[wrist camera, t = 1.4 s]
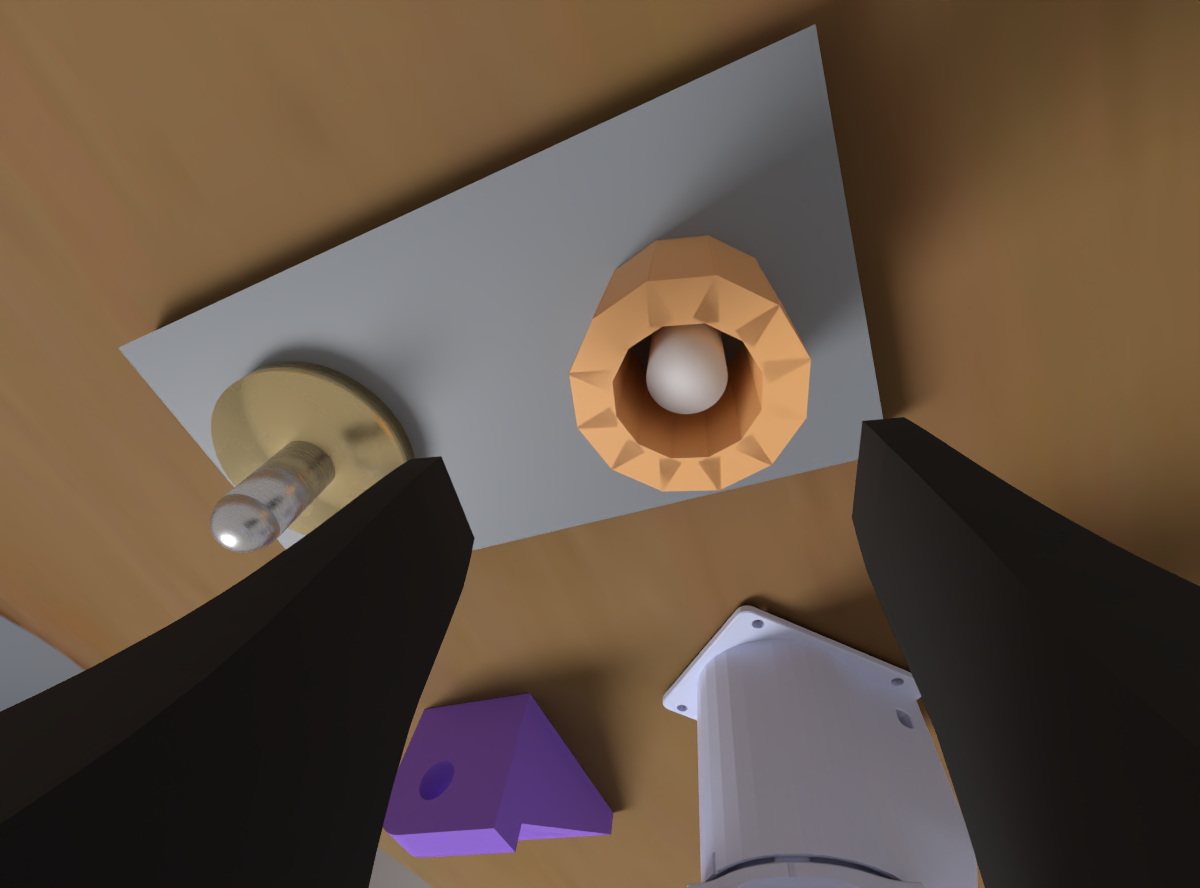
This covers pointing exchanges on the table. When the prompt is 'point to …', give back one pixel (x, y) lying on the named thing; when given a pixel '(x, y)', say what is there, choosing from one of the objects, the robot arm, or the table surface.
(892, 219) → the table surface
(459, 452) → the board
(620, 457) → the sleeve
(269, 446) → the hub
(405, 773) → the bracket
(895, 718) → the robot arm
